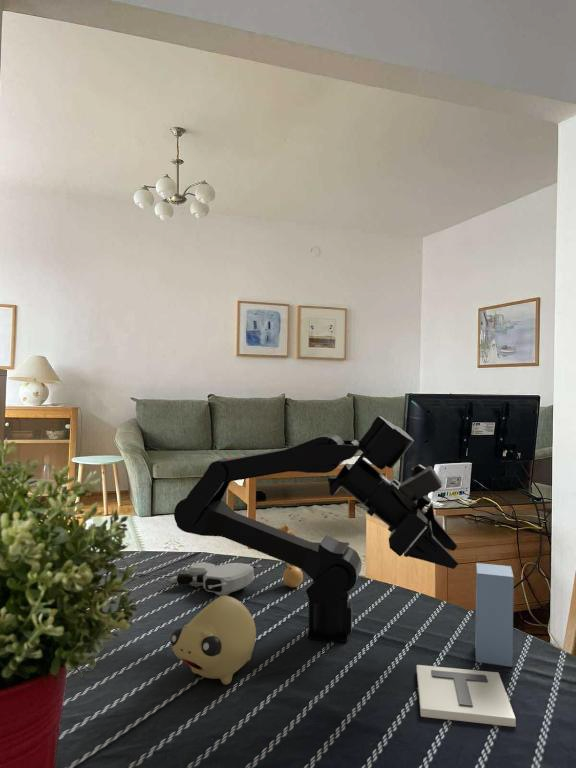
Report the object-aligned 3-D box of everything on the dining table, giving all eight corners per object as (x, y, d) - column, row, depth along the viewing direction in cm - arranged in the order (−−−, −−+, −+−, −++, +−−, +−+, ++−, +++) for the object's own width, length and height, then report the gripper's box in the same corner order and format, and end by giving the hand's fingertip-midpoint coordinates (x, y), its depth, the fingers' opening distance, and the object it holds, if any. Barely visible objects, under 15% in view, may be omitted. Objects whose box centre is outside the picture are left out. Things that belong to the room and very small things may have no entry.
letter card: (420, 716, 71) (420, 706, 71) (416, 671, 81) (416, 663, 81) (515, 726, 69) (515, 716, 69) (498, 679, 80) (498, 671, 80)
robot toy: (165, 595, 112) (229, 605, 104) (164, 571, 112) (227, 579, 105) (204, 577, 122) (264, 584, 115) (203, 555, 123) (263, 561, 115)
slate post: (475, 661, 85) (477, 573, 85) (475, 646, 89) (476, 562, 89) (512, 666, 83) (513, 577, 83) (509, 651, 88) (510, 566, 88)
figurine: (287, 595, 110) (288, 532, 110) (263, 587, 114) (264, 526, 114) (313, 583, 116) (314, 524, 116) (290, 576, 120) (291, 519, 120)
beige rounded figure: (156, 687, 77) (157, 607, 76) (212, 651, 87) (213, 580, 87) (216, 709, 72) (216, 624, 72) (267, 668, 82) (268, 593, 82)
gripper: (401, 459, 81) (494, 532, 78) (409, 445, 99) (485, 504, 96) (353, 519, 83) (442, 593, 80) (370, 494, 101) (443, 554, 98)
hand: (455, 556), depth 88 cm, fingers open, 9 cm apart
